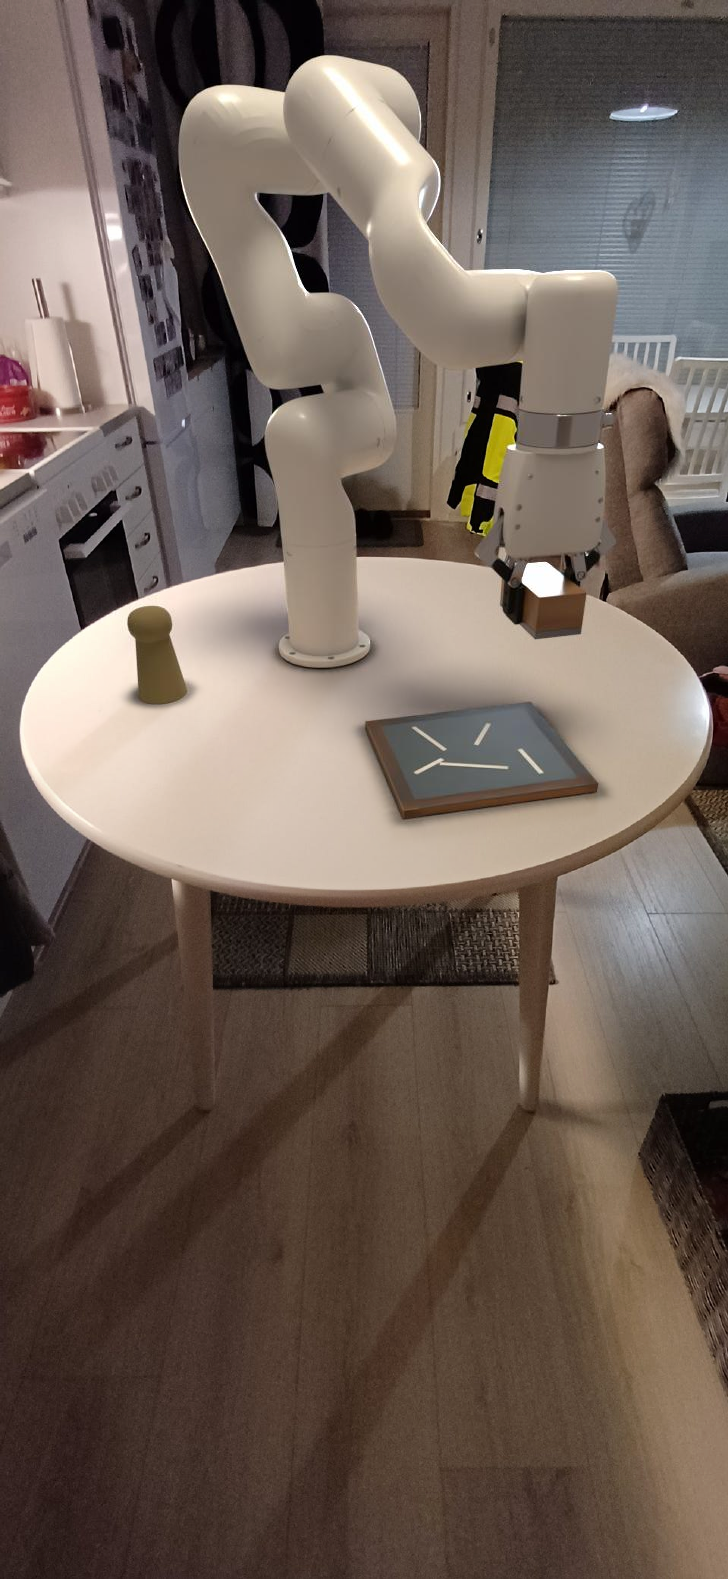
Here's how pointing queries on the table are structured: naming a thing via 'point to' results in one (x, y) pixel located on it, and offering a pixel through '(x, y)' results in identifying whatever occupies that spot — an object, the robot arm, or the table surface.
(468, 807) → the chalkboard
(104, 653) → the table surface
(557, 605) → the eraser
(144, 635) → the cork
